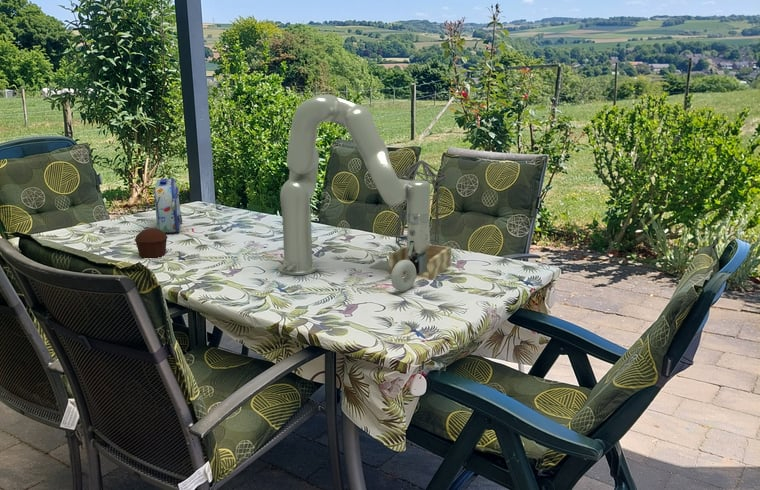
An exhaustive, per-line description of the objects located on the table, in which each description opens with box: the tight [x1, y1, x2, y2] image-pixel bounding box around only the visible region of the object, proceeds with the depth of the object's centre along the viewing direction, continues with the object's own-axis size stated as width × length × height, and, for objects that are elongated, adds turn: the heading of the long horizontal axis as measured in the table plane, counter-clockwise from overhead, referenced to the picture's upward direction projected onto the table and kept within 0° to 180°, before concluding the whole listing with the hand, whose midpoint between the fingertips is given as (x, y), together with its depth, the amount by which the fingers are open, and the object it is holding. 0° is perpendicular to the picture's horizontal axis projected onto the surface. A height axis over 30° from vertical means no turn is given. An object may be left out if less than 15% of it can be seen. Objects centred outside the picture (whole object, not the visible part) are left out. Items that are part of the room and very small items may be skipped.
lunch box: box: [154, 178, 183, 234], centre depth 282 cm, size 28×10×22 cm, turn 17°
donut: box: [390, 260, 417, 293], centre depth 206 cm, size 10×4×10 cm, turn 135°
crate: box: [388, 244, 452, 281], centre depth 227 cm, size 19×15×7 cm
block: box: [408, 252, 427, 275], centre depth 224 cm, size 5×5×6 cm
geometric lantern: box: [394, 160, 448, 249], centre depth 243 cm, size 16×16×35 cm
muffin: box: [134, 227, 169, 259], centre depth 244 cm, size 12×11×10 cm
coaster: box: [369, 260, 389, 271], centre depth 231 cm, size 9×9×1 cm
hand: (417, 270), depth 225 cm, fingers closed on block, 5 cm apart
